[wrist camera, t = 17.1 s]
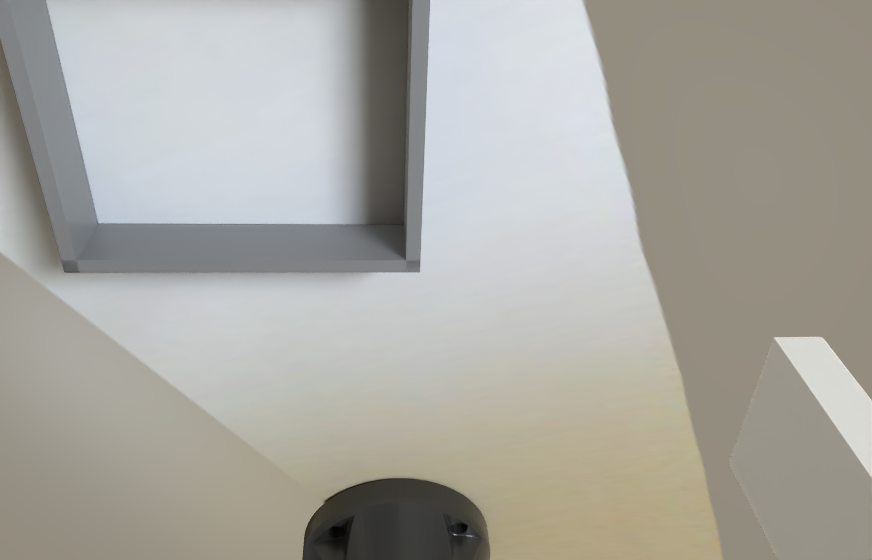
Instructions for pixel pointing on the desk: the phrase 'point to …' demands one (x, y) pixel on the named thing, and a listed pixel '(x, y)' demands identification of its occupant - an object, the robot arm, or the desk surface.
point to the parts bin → (195, 243)
